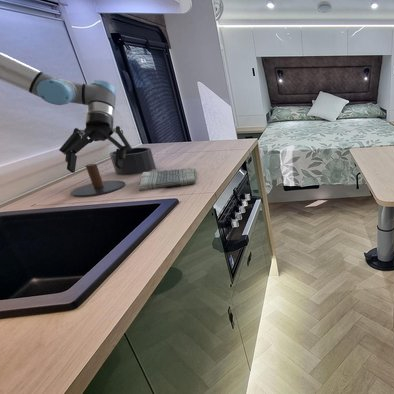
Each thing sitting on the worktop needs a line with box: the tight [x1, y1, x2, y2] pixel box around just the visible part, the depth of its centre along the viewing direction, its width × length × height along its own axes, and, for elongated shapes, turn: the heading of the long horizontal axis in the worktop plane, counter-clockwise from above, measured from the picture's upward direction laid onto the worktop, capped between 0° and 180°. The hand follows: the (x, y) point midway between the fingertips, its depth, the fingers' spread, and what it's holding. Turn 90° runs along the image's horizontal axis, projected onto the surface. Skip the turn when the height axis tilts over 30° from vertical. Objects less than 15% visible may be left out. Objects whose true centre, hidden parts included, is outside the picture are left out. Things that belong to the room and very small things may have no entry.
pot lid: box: [70, 163, 126, 198], centre depth 98 cm, size 15×15×9 cm
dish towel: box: [137, 167, 197, 192], centre depth 108 cm, size 19×18×3 cm
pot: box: [109, 146, 157, 176], centre depth 120 cm, size 14×14×8 cm
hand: (95, 168), depth 99 cm, fingers open, 13 cm apart
